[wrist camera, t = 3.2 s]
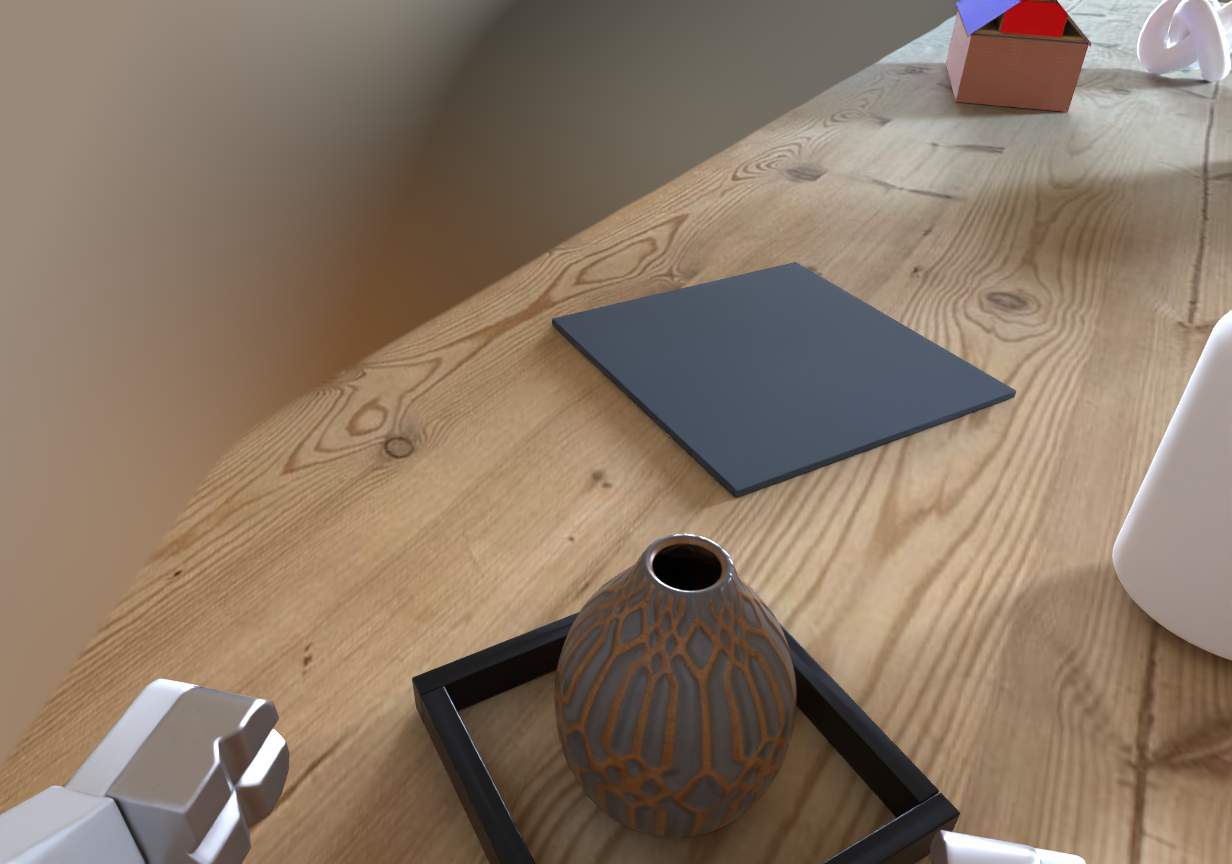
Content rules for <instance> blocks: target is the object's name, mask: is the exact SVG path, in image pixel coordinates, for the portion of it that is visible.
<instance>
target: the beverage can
mask: <svg viewBox="0 0 1232 864" xmlns="http://www.w3.org/2000/svg"><path fill="white" fill-rule="evenodd" d="M1113 564H1114V568H1115V572H1116V574H1117V577H1118V579H1119V581H1120V582H1121V584H1122V586H1123V587H1124V589H1125V590H1126V592H1127V593H1128V594H1129V596H1130V597H1131V598H1132V599H1133V600H1134V602H1135V603H1136V604H1137V605H1138V606H1139V607H1140V608H1141V609H1142V610H1143V611H1144V612H1146V613H1147V614H1148V615H1149V616H1150V617H1151V618H1152V619H1154V620H1155V621H1156V622H1158V623H1159V624H1160V625H1162V626H1163V627H1164V628H1166V629H1167V630H1169V631H1170V632H1172V633H1174V634H1175V635H1177V636H1178V637H1180V638H1182V639H1184V640H1185V641H1187V642H1189V643H1191V644H1193V645H1195V646H1197V647H1199V648H1201V649H1203V650H1205V651H1208V652H1210V653H1212V654H1215V655H1217V656H1220V657H1223V658H1226V659H1228V660H1231V661H1232V310H1231V311H1230V312H1228V313H1227V314H1226V315H1225V316H1223V317H1222V318H1221V319H1220V320H1219V322H1218V323H1217V324H1216V326H1215V327H1214V329H1213V331H1212V333H1211V335H1210V337H1209V340H1208V342H1207V344H1206V346H1205V348H1204V350H1203V353H1202V355H1201V357H1200V359H1199V361H1198V363H1197V366H1196V368H1195V370H1194V372H1193V374H1192V376H1191V379H1190V381H1189V383H1188V385H1187V387H1186V390H1185V392H1184V394H1183V396H1182V398H1181V400H1180V403H1179V405H1178V407H1177V409H1176V411H1175V413H1174V416H1173V418H1172V420H1171V422H1170V424H1169V426H1168V429H1167V431H1166V433H1165V435H1164V437H1163V440H1162V442H1161V444H1160V446H1159V448H1158V450H1157V453H1156V455H1155V457H1154V459H1153V461H1152V463H1151V466H1150V468H1149V470H1148V472H1147V474H1146V476H1145V479H1144V481H1143V483H1142V485H1141V487H1140V489H1139V492H1138V494H1137V496H1136V498H1135V500H1134V503H1133V505H1132V507H1131V509H1130V511H1129V513H1128V516H1127V518H1126V520H1125V522H1124V524H1123V526H1122V529H1121V531H1120V533H1119V535H1118V537H1117V540H1116V542H1115V544H1114V547H1113Z"/></svg>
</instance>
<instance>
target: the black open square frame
mask: <svg viewBox="0 0 1232 864" xmlns="http://www.w3.org/2000/svg"><path fill="white" fill-rule="evenodd" d="M578 614H579V612H578V613H576V614H573V615H571V616H568V617H566V618H563V619H561V620H558V621H555V622H553V623H550V624H548V625H545V626H543V627H540V628H538V629H535V630H533V631H530V632H527V633H525V634H522V635H520V636H517V637H515V638H512V639H510V640H507V641H505V642H502V643H499V644H497V645H494V646H492V647H489V648H487V649H484V650H482V651H479V652H477V653H474V654H471V655H469V656H466V657H464V658H461V659H459V660H456V661H454V662H451V663H449V664H446V665H443V666H441V667H438V668H436V669H433V670H431V671H428V672H426V673H423V674H421V675H418V676H415V677H413V678H412V682H413V688H414V695H415V702H416V708H417V710H418V712H419V714H420V716H421V719H422V721H423V723H424V724H425V727H426V729H427V731H428V733H429V735H430V737H431V740H432V742H433V744H434V746H435V748H436V750H437V752H438V754H439V756H440V759H441V761H442V763H443V765H444V767H445V769H446V771H447V773H448V776H449V778H450V780H451V782H452V784H453V786H454V788H455V790H456V792H457V795H458V797H459V799H460V801H461V803H462V805H463V807H464V809H465V811H466V814H467V816H468V818H469V820H470V822H471V824H472V826H473V828H474V831H475V833H476V835H477V837H478V839H479V841H480V843H481V845H482V847H483V850H484V852H485V854H486V856H487V858H488V860H489V862H490V864H535V862H534V860H533V858H532V856H531V854H530V852H529V850H528V848H527V846H526V844H525V842H524V840H523V838H522V837H521V835H520V833H519V831H518V829H517V827H516V825H515V823H514V821H513V819H512V817H511V815H510V813H509V811H508V809H507V807H506V805H505V803H504V802H503V800H502V798H501V796H500V794H499V792H498V790H497V788H496V786H495V784H494V782H493V780H492V778H491V776H490V774H489V772H488V770H487V769H486V767H485V765H484V763H483V761H482V759H481V757H480V755H479V753H478V751H477V749H476V747H475V745H474V743H473V741H472V739H471V737H470V736H469V734H468V732H467V730H466V728H465V726H464V724H463V722H462V720H461V718H460V716H459V714H458V712H457V711H458V710H461V709H463V708H465V707H468V706H470V705H472V704H475V703H477V702H480V701H482V700H484V699H487V698H489V697H492V696H494V695H496V694H499V693H501V692H504V691H506V690H508V689H511V688H513V687H516V686H518V685H520V684H523V683H525V682H527V681H530V680H532V679H535V678H537V677H539V676H542V675H544V674H547V673H549V672H551V671H554V670H556V669H557V667H558V662H559V658H560V654H561V651H562V648H563V646H564V643H565V640H566V638H567V635H568V633H569V631H570V629H571V627H572V625H573V623H574V621H575V619H576V617H577V616H578ZM778 623H779V622H778ZM779 625H780V627H781V629H782V631H783V633H784V636H785V638H786V641H787V644H788V647H789V650H790V653H791V658H792V662H793V667H794V673H795V681H796V705H797V706H798V707H799V708H800V709H801V710H802V712H803V713H804V714H805V715H806V716H807V717H808V718H809V719H810V721H811V722H812V723H813V724H814V725H815V726H816V727H817V728H818V730H819V731H820V732H821V733H822V734H823V735H824V736H825V737H826V739H827V740H828V741H829V742H830V743H831V744H832V745H833V746H834V748H835V749H836V750H837V751H838V752H839V753H840V754H841V755H842V757H843V758H844V759H845V760H846V761H847V762H848V763H849V764H850V766H851V767H852V768H853V769H854V770H855V771H856V772H857V773H858V775H859V776H860V777H861V778H862V779H863V780H864V781H865V782H866V784H867V785H868V786H869V787H870V788H871V789H872V790H873V791H874V793H875V794H876V795H877V796H878V797H879V798H880V799H881V800H882V802H883V803H884V804H885V805H886V806H887V807H888V808H889V809H890V811H891V812H892V813H893V814H894V815H895V816H896V817H897V818H896V819H894V820H893V821H891V822H889V823H888V824H886V825H884V826H883V827H881V828H879V829H878V830H876V831H874V832H873V833H871V834H870V835H868V836H866V837H865V838H863V839H861V840H860V841H858V842H856V843H855V844H853V845H851V846H850V847H848V848H846V849H845V850H843V851H841V852H840V853H838V854H837V855H835V856H833V857H832V858H830V859H828V860H827V861H825V862H823V863H822V864H915V863H916V862H918V861H919V860H921V859H922V858H924V857H926V856H927V855H929V854H930V853H931V851H930V846H931V843H932V841H933V838H934V836H935V834H936V833H937V832H939V831H940V830H943V831H949V832H952V831H953V829H954V827H955V824H956V822H957V820H958V817H959V815H960V813H959V811H958V810H957V809H956V808H955V807H954V806H953V805H952V804H951V803H950V802H949V801H948V800H947V799H946V798H945V796H944V795H943V794H942V793H940V792H939V790H938V789H937V788H936V787H935V786H934V785H933V784H932V783H931V782H930V781H929V779H928V778H927V777H926V776H925V775H924V774H923V773H922V772H921V771H920V770H919V769H918V768H917V767H916V766H915V765H914V764H913V763H912V762H911V761H910V760H909V759H908V757H907V756H906V755H905V754H904V753H903V752H902V751H901V750H900V749H899V748H898V747H897V746H896V745H895V744H894V743H893V742H892V741H891V740H890V739H889V738H888V737H887V735H886V734H885V733H884V732H883V731H882V730H881V729H880V728H879V727H878V726H877V725H876V724H875V723H874V722H873V721H872V720H871V719H870V718H869V717H868V716H867V715H866V713H865V712H864V711H863V710H862V709H861V708H860V707H859V706H858V705H857V704H856V703H855V702H854V701H853V700H852V699H851V698H850V697H849V696H848V695H847V694H846V693H845V691H844V690H843V689H842V688H841V687H840V686H839V685H838V684H837V683H836V682H835V681H834V680H833V679H832V678H831V677H830V676H829V675H828V674H827V673H826V672H825V671H824V669H823V668H822V667H821V666H820V665H819V664H818V663H817V662H816V661H815V660H814V659H813V658H812V657H811V656H810V655H809V654H808V653H807V652H806V651H805V650H804V649H803V647H802V646H801V645H800V644H799V643H798V642H797V641H796V640H795V639H794V638H793V637H792V636H791V635H790V634H789V633H788V632H787V631H786V630H785V629H784V628H783V626H782V625H781V624H780V623H779Z"/></svg>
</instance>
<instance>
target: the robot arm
mask: <svg viewBox="0 0 1232 864" xmlns="http://www.w3.org/2000/svg"><path fill="white" fill-rule="evenodd" d="M278 719H279V716H278V714H277V711H276V708H275V705H274V703H273V701H268V700H264V699H259V698H254V697H249V696H244V695H239V694H234V693H229V692H224V691H219V690H214V689H209V688H204V687H200V686H198V685H192V684H187V683H182V682H176V681H171V680H166V679H161V678H159V679H157V680H156V681H154V682H153V683H151V684H150V685H148V686H147V687H145V688H144V689H143V690H142V692H141V693H140V694H139V695H138V697H137V698H136V699H135V700H134V701H133V703H132V704H131V705H130V706H129V708H128V709H127V710H126V711H125V713H124V714H123V715H122V716H121V717H120V719H119V720H118V721H117V722H116V724H115V725H114V726H113V727H112V729H111V730H110V731H109V732H108V734H107V735H106V736H105V737H104V738H103V740H102V741H101V742H100V743H99V745H98V746H97V747H96V748H95V750H94V751H93V752H92V753H91V754H90V756H89V757H88V758H87V759H86V761H85V762H84V763H83V764H82V766H81V767H80V768H79V769H78V771H77V772H76V773H75V774H74V775H73V777H72V778H71V779H70V780H69V782H68V783H67V784H66V785H65V787H60V786H54V785H53V786H51V787H49V788H48V789H46V790H44V791H42V792H41V793H39V794H37V795H35V796H33V797H32V798H30V799H28V800H26V801H25V802H23V803H21V804H19V805H17V806H16V807H14V808H12V809H10V810H9V811H7V812H5V813H3V814H1V815H0V864H242V862H243V860H244V859H245V857H246V855H247V854H248V852H249V850H250V848H251V843H250V833H249V828H251V827H252V826H254V825H255V824H257V823H258V822H260V821H261V820H263V819H264V818H266V817H267V816H269V815H270V814H271V812H272V810H273V808H274V806H275V804H276V803H277V801H278V799H279V797H280V795H281V794H282V790H283V787H284V784H285V781H286V777H287V774H288V771H289V751H288V747H287V743H286V741H285V740H284V739H283V738H282V737H281V736H280V735H279V734H278V733H277V732H276V731H275V730H274V729H273V728H274V726H275V724H276V723H277V721H278ZM930 851H931V864H1086V863H1085V861H1084V860H1083V859H1082V858H1080V857H1079V856H1077V855H1071V854H1065V853H1060V852H1054V851H1048V850H1043V849H1037V848H1032V847H1030V846H1028V845H1023V844H1017V843H1011V842H1006V841H1000V840H994V839H989V838H983V837H977V836H972V835H966V834H960V833H955V832H949V831H943V830H940V831H939V832H937V833H936V834H935V836H934V838H933V841H932V843H931V846H930Z"/></svg>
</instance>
